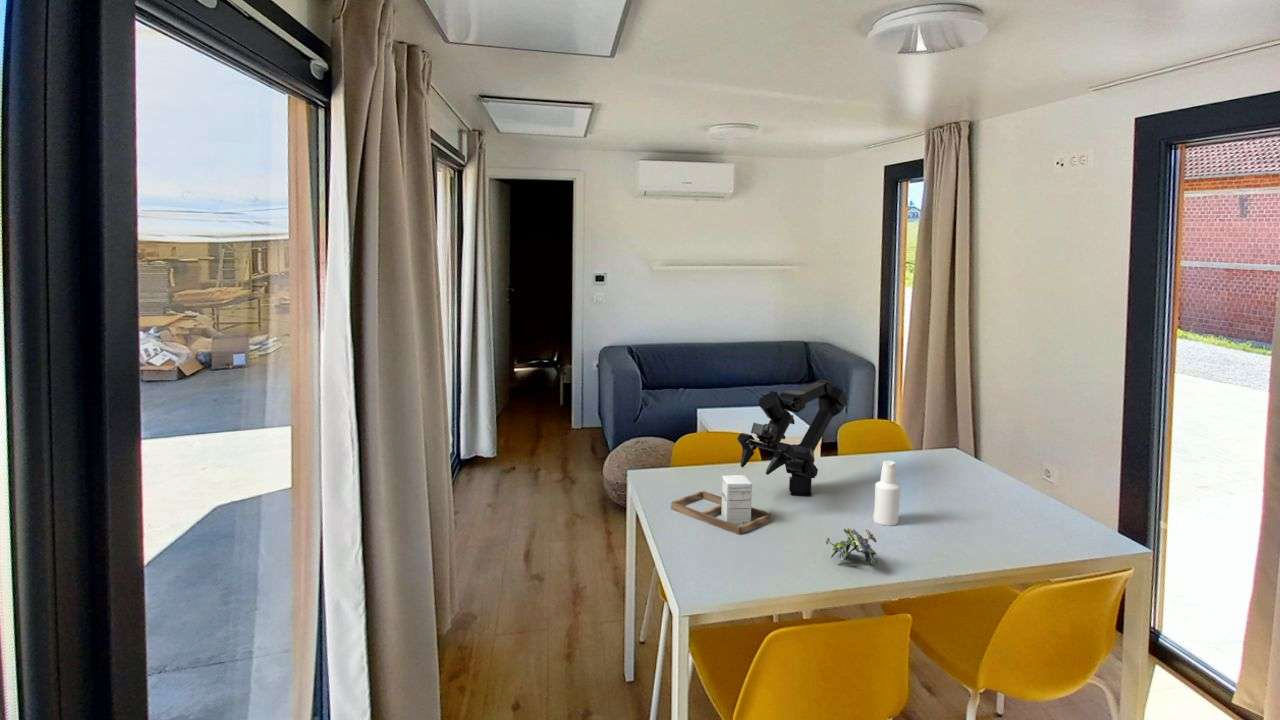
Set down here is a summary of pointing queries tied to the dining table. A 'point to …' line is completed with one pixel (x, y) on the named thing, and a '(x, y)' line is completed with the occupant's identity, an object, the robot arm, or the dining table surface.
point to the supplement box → (736, 499)
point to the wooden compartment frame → (708, 515)
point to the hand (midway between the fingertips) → (753, 470)
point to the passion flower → (855, 546)
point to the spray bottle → (887, 496)
